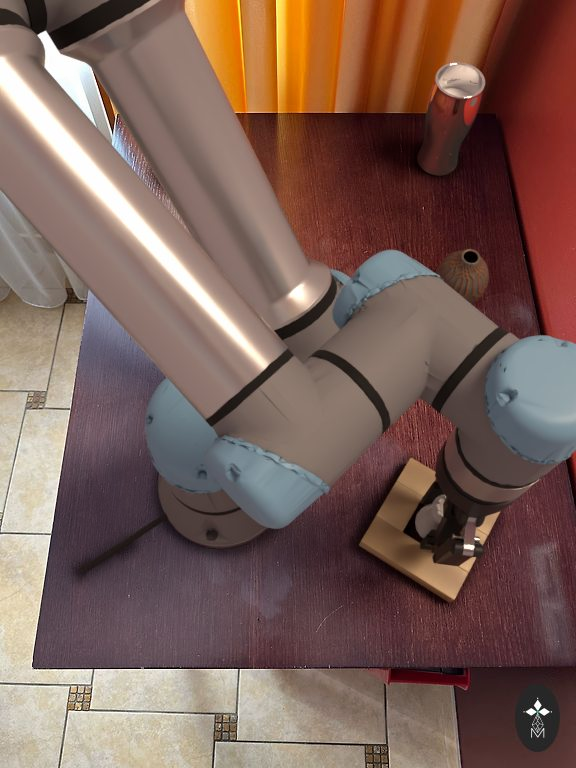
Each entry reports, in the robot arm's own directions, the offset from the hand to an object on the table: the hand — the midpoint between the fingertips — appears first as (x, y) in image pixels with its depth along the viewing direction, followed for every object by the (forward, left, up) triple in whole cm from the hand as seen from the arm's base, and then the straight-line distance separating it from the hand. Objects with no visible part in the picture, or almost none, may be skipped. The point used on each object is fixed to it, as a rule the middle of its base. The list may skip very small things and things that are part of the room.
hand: (433, 524), depth 78 cm
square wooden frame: (0, 0, -3) cm, 3 cm away
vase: (+25, +22, -4) cm, 34 cm away
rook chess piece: (0, 0, 0) cm, 0 cm away
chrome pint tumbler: (+39, +41, -4) cm, 57 cm away
